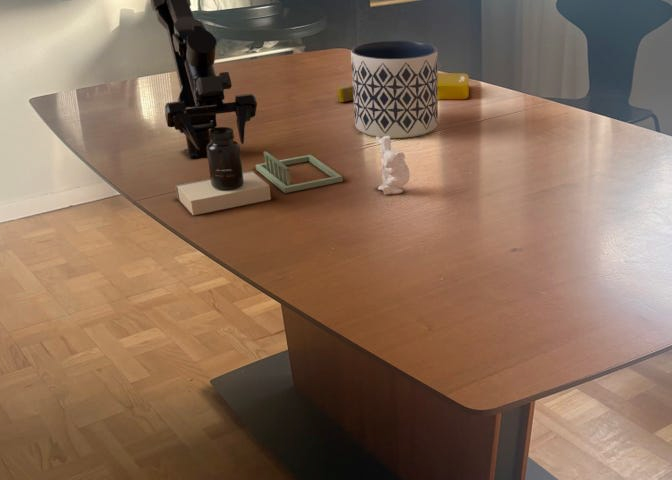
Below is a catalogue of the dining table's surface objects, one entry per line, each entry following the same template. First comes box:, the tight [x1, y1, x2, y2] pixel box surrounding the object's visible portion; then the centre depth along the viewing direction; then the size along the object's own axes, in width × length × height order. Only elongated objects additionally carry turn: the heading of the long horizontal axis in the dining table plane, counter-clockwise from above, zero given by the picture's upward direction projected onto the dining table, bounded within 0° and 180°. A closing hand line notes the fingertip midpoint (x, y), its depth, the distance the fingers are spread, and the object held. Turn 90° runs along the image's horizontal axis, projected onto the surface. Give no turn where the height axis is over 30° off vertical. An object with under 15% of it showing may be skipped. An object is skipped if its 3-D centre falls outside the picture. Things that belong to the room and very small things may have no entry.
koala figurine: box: [375, 136, 411, 195], centre depth 181 cm, size 8×7×12 cm
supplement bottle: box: [206, 126, 244, 190], centre depth 175 cm, size 7×7×12 cm
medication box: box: [336, 84, 354, 103], centre depth 248 cm, size 12×3×4 cm, turn 134°
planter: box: [350, 39, 439, 139], centre depth 220 cm, size 22×22×20 cm
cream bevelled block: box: [174, 170, 272, 216], centre depth 179 cm, size 11×17×3 cm, turn 122°
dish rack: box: [255, 150, 344, 194], centre depth 191 cm, size 18×14×5 cm
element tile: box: [438, 72, 470, 101], centre depth 254 cm, size 15×15×5 cm
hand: (221, 145), depth 176 cm, fingers open, 9 cm apart
